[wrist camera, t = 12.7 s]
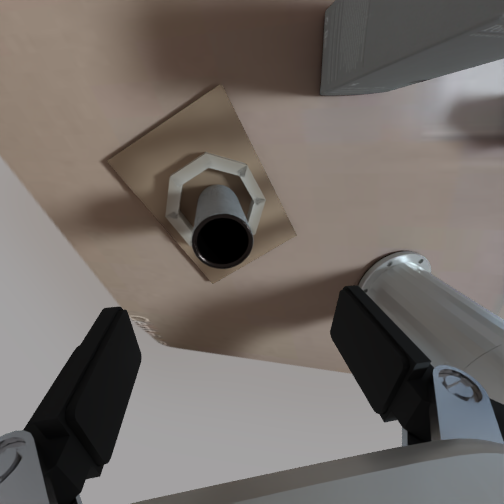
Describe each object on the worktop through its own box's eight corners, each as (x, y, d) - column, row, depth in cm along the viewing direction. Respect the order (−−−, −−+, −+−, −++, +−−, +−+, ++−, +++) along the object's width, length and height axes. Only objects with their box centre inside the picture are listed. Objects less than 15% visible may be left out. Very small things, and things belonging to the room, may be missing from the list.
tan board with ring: (294, 232, 30) (301, 240, 28) (212, 280, 31) (213, 291, 29) (220, 85, 21) (222, 79, 19) (109, 160, 22) (99, 163, 20)
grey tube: (189, 208, 25) (178, 250, 16) (213, 175, 24) (215, 200, 15) (222, 230, 27) (229, 279, 18) (246, 200, 26) (266, 236, 17)
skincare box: (317, 97, 23) (484, 45, 9) (324, -3, 19) (615, -336, 6) (391, 93, 24) (643, 41, 10) (411, -3, 20) (835, -278, 7)
